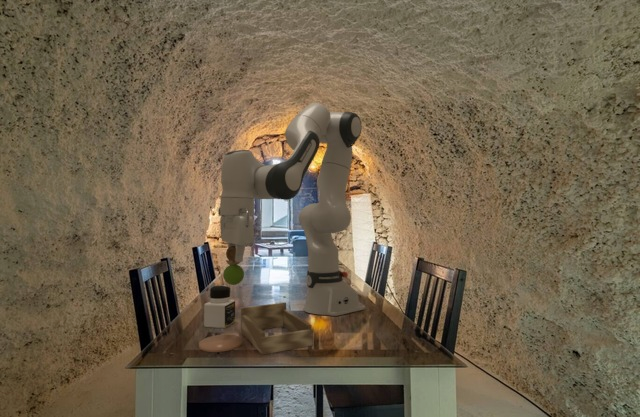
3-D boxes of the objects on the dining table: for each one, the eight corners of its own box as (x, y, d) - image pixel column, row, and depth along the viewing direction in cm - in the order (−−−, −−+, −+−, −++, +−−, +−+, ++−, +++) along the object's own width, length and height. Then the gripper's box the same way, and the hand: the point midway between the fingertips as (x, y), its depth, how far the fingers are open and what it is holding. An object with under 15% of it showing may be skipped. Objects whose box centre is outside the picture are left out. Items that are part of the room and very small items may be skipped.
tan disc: (236, 335, 102) (236, 332, 102) (246, 347, 92) (246, 344, 92) (196, 341, 97) (196, 338, 97) (202, 355, 87) (202, 351, 87)
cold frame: (285, 324, 111) (285, 302, 111) (313, 345, 93) (313, 318, 94) (240, 331, 105) (240, 307, 105) (262, 354, 87) (262, 326, 87)
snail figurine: (238, 286, 91) (237, 239, 92) (218, 285, 94) (218, 240, 95) (251, 284, 96) (250, 239, 97) (232, 283, 98) (232, 240, 100)
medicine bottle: (225, 328, 108) (225, 288, 108) (203, 327, 109) (204, 288, 109) (235, 321, 115) (235, 284, 115) (215, 320, 116) (215, 283, 116)
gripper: (260, 208, 88) (259, 264, 88) (238, 210, 106) (237, 256, 106) (235, 208, 85) (234, 265, 85) (217, 209, 103) (215, 257, 103)
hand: (235, 260), depth 95 cm, fingers open, 4 cm apart
